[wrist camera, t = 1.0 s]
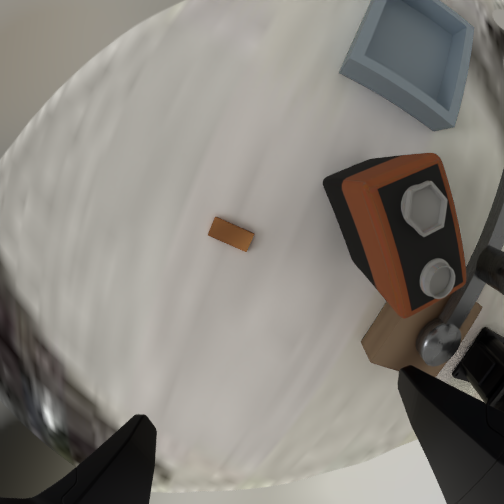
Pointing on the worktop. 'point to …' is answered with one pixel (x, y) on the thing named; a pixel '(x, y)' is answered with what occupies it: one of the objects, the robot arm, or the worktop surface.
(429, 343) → the crank
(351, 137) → the worktop surface
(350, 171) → the battery
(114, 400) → the worktop surface
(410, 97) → the tray
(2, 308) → the worktop surface
